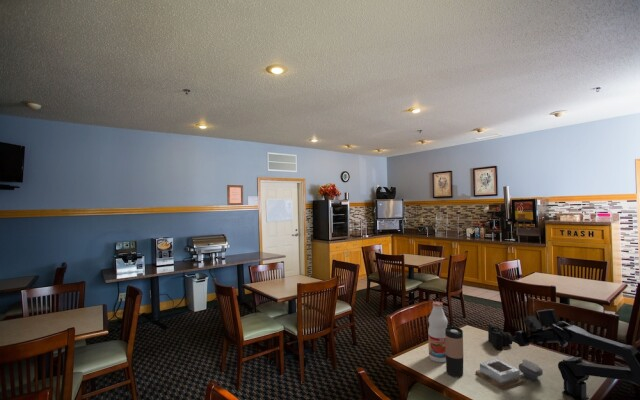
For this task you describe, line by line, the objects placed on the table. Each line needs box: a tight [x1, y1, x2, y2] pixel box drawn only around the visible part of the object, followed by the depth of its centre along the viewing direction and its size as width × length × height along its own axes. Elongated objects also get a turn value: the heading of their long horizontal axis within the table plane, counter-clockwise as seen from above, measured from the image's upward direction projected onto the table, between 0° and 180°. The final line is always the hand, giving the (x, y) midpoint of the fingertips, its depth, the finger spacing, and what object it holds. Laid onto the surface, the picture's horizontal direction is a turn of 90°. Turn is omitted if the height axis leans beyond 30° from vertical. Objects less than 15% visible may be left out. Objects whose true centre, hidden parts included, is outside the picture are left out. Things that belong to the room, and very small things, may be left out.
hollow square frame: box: [479, 358, 521, 385], centre depth 146 cm, size 11×11×4 cm
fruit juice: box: [427, 301, 449, 363], centre depth 164 cm, size 9×9×28 cm
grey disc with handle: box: [518, 358, 544, 382], centre depth 146 cm, size 9×9×7 cm
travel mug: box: [445, 326, 464, 378], centre depth 150 cm, size 8×8×20 cm
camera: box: [487, 323, 514, 352], centre depth 177 cm, size 14×11×10 cm
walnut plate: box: [475, 369, 526, 391], centre depth 146 cm, size 14×13×1 cm
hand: (516, 337), depth 154 cm, fingers open, 9 cm apart
